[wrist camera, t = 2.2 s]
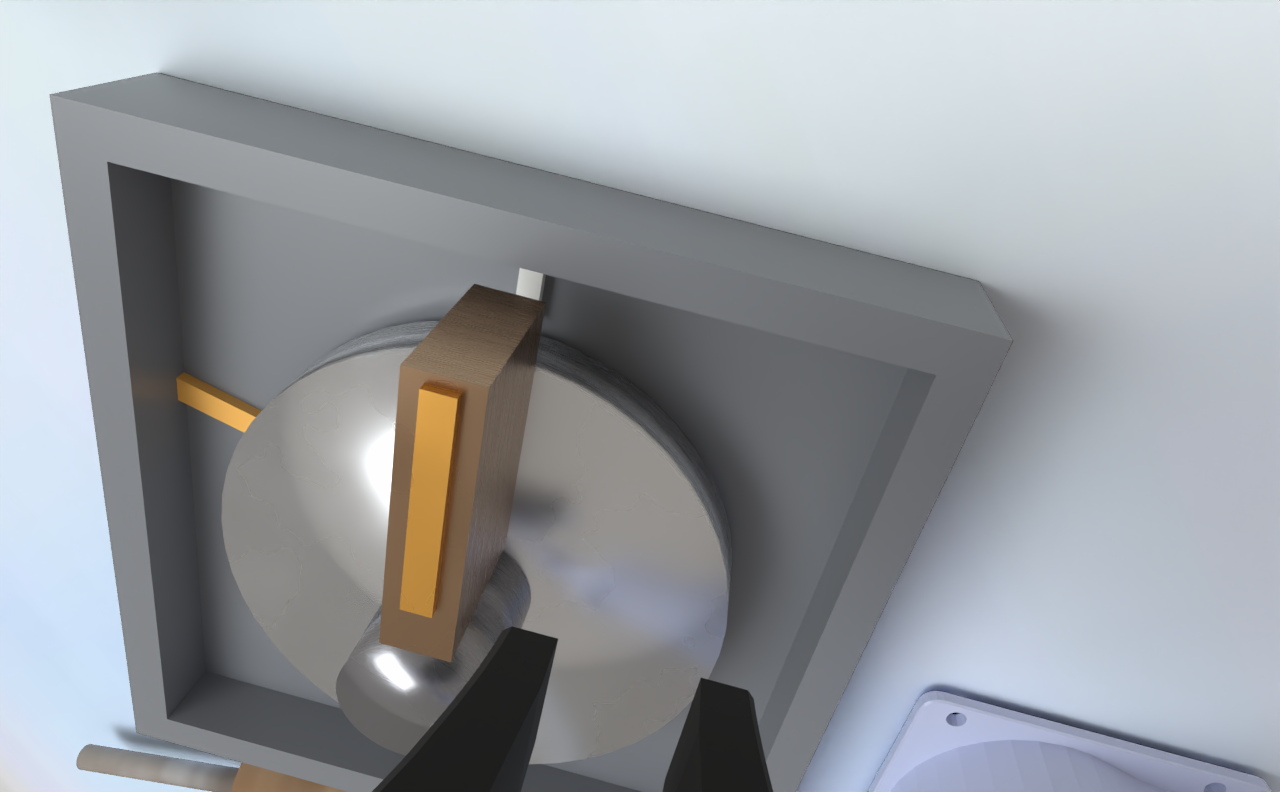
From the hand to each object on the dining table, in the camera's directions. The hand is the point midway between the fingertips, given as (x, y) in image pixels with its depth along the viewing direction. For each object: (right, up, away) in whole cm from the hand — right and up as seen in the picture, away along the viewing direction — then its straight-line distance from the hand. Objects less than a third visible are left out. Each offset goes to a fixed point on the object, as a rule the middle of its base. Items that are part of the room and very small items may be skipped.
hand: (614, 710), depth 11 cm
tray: (-3, +1, +11) cm, 12 cm away
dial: (-3, +1, +10) cm, 10 cm away
